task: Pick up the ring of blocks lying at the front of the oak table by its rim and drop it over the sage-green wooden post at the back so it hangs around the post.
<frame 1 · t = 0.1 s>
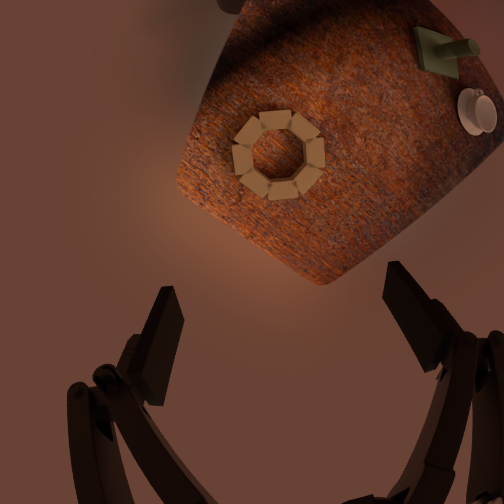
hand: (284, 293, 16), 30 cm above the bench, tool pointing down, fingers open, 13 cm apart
teacup: (471, 111, 34), on the bench
stand: (435, 53, 30), on the bench
ring of blocks: (277, 153, 40), on the bench
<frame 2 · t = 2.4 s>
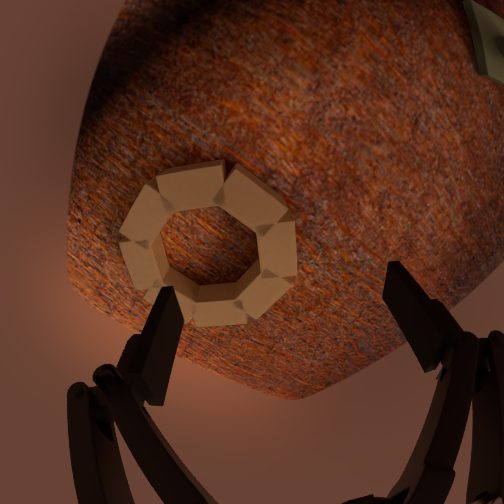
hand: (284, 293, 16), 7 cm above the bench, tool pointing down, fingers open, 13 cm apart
stand: (496, 48, 12), on the bench
ring of blocks: (209, 243, 23), on the bench
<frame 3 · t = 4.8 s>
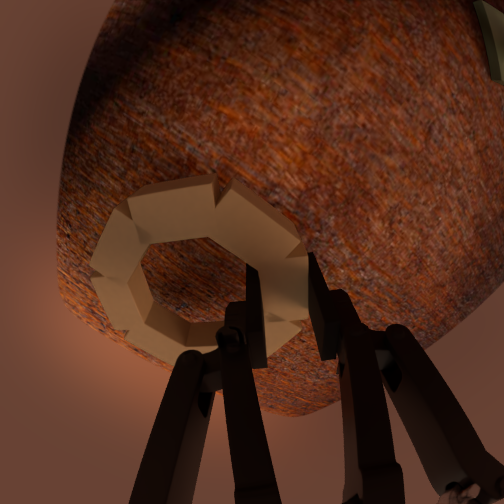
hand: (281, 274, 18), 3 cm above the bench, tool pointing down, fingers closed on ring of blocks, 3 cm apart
ring of blocks: (200, 277, 18), point 3 cm above the bench, touching gripper
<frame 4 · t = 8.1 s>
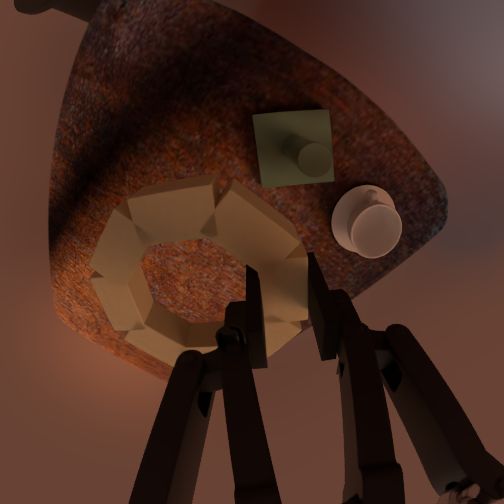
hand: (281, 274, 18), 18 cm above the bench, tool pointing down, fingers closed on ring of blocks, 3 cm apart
teacup: (363, 218, 36), on the bench
stand: (293, 146, 31), on the bench
ring of blocks: (200, 278, 18), point 18 cm above the bench, touching gripper
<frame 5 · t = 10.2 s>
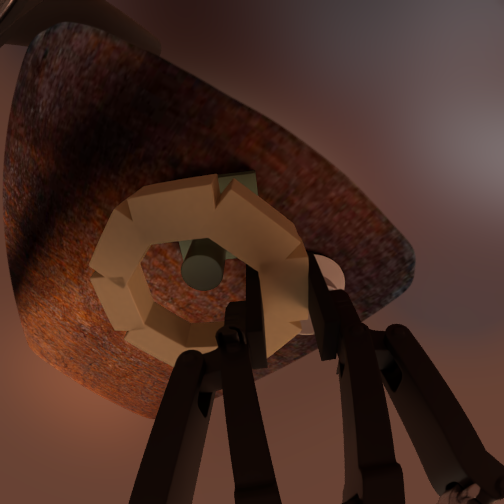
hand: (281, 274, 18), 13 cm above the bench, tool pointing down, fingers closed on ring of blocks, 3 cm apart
teacup: (305, 286, 34), on the bench
stand: (217, 216, 29), on the bench
ring of blocks: (200, 278, 18), point 12 cm above the bench, touching gripper
when the fingers open (8 cm above the bench, at t = 11.8 s): ring of blocks drops 6 cm, resting on stand.
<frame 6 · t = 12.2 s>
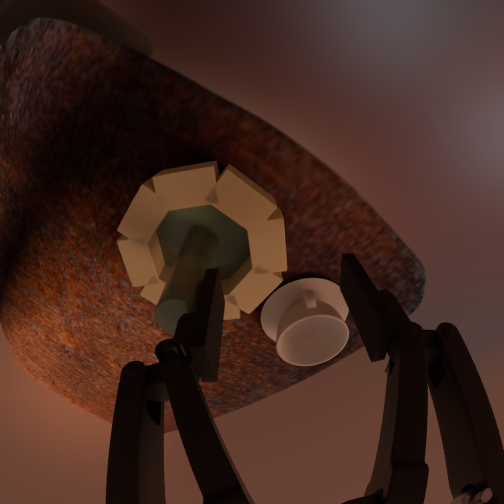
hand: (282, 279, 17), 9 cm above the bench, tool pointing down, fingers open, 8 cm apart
teacup: (304, 311, 30), on the bench
stand: (204, 236, 25), on the bench
ring of blocks: (203, 241, 24), point 1 cm above the bench, touching stand
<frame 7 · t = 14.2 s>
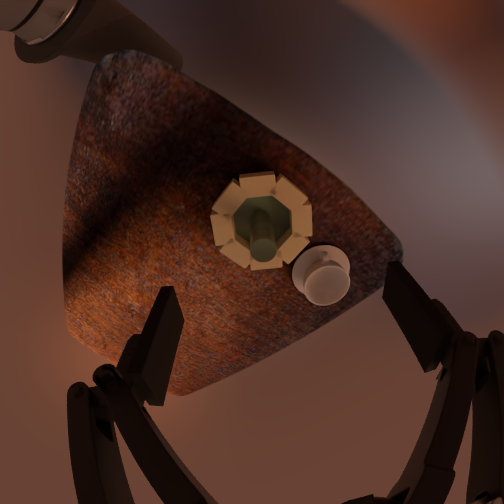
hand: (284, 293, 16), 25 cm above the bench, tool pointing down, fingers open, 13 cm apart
teacup: (320, 270, 45), on the bench
stand: (260, 216, 40), on the bench
ring of blocks: (261, 218, 39), point 1 cm above the bench, touching stand
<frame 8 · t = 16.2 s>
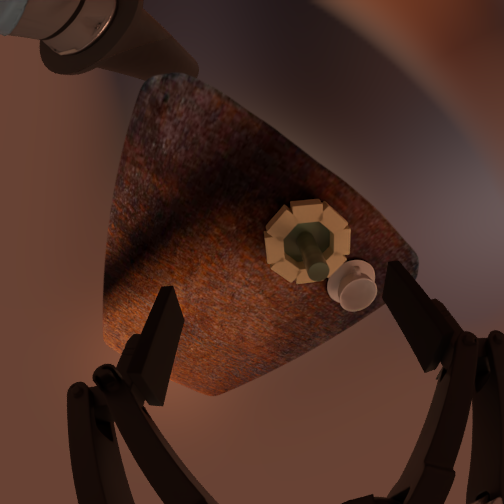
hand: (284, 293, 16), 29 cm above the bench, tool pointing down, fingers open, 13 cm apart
teacup: (350, 280, 50), on the bench
stand: (303, 236, 46), on the bench
ring of blocks: (306, 239, 44), point 1 cm above the bench, touching stand
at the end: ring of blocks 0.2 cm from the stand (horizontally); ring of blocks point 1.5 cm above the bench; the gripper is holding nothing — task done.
